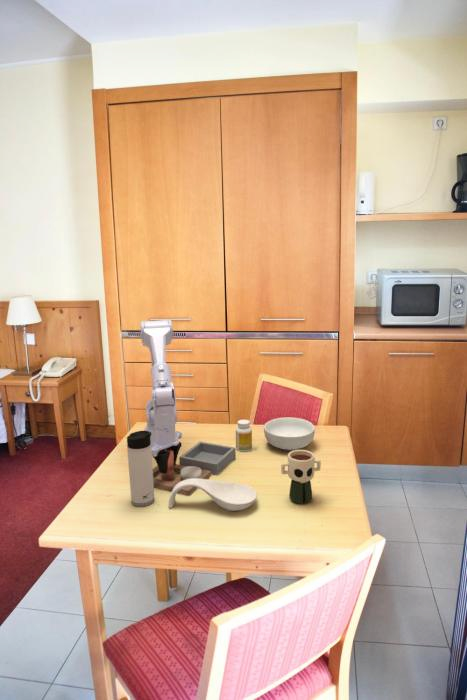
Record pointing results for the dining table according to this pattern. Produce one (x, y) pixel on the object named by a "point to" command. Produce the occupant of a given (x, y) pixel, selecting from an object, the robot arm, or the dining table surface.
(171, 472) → the reddish brown cylinder
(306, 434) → the cereal bowl
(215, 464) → the tray
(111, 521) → the dining table surface
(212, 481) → the spoon rest
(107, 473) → the dining table surface
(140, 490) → the travel mug
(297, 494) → the character mug
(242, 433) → the supplement bottle
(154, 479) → the brown flat wooden frame
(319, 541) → the dining table surface
